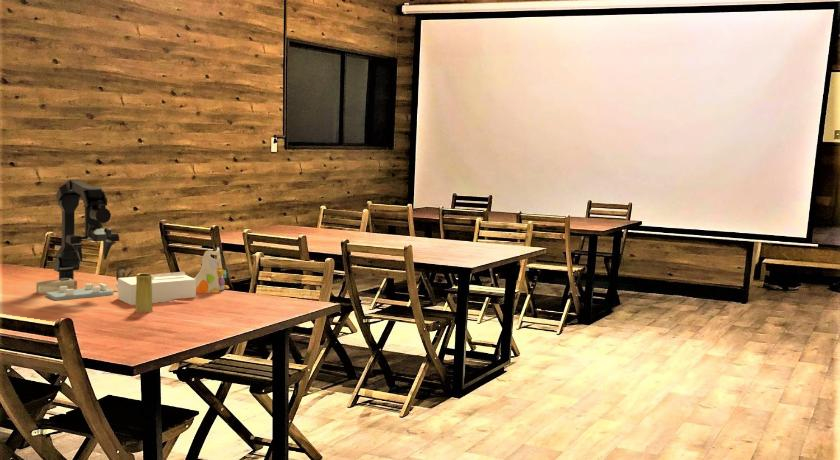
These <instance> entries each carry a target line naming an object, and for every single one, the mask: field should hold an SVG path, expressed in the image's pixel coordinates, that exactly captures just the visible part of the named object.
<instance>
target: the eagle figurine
mask: <svg viewBox="0 0 840 460" xmlns="http://www.w3.org/2000/svg"><path fill="white" fill-rule="evenodd" d="M134 269H135V267H133V268H132V269H131V270H130V271H128V268H126V267H125V266H120V267H118V268H117V269H116V271H115V275H116V279H115V280H116V281H117V282H118V278H126V277H130V276H131V275H132V272H133V271H134ZM127 271H128V272H127ZM126 272H127V274H126ZM115 287H116V288H117V289H118V283H117V285H116V286H115Z"/></svg>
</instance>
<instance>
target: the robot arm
mask: <svg viewBox="0 0 840 460" xmlns="http://www.w3.org/2000/svg"><path fill="white" fill-rule="evenodd" d="M55 196H56V197H55V198H56V201H57V206H58V207H59V208H60V210H61V246H60V247H59V249H58V250H57V252H56V253H57V256H56V259H55V260H54V263H53V271H54V272H57V273H58V280H59V279H60V278H70V279H74V280H75V271H79V270H80V265H81V262H82V261H83V250H82V249H83V248H82V247H83V244H82V242H87V241H88V242H90V241H91V242H95V243H98V242H103V243H102V245H103V246H102V247H103V248H102V249H103V251H102V252H103V253H102V254H103V260H107V257H108V254H109V252H110V250H111V247H112V246H113V245H115V244H116V243H117V242H120V235H119V233H118V232H112V228H111V227H105V228H103V224H106V223H108V222H109V221H110V219H111V217H112V213H111V211H110V209H108V208H106V206H108V198H107V195H106V194H105V192H104V190H103V188H102V187H101V186H90V185H88V184H86V183H85V182H83V181H82V180H81V179H68V180H67V181H66V182H65V183H64V184H63V185H61V186H59V187H58V190H57V192H56V195H55ZM80 200H82V202H83V203H84V204H83V208H84V221H83V225H84V232H83V235H82V236H81V235H78V234H75V211H77V210H76V209H77V208H78V207H79V205H80Z"/></svg>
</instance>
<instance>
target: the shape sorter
mask: <svg viewBox="0 0 840 460" xmlns="http://www.w3.org/2000/svg"><path fill="white" fill-rule="evenodd" d="M211 255H212V256H216V258H213V257H212V256H211ZM193 278H194V279H196V294H207V293H212V294H213V293H216V294H217V293H220V291H223V290H225V289H227V290H229V289H230V287H229V285H227V284H226V285H225V283H226V281H225V279H227V270H226V269H223V265H222V259H221V253H220V247H216V251H213V250H212V249H211V250H206V251H204V254H203V257H202V263H201V268H200V270H199V272H198V274H196V275H195V277H193ZM219 290H220V291H219Z"/></svg>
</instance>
